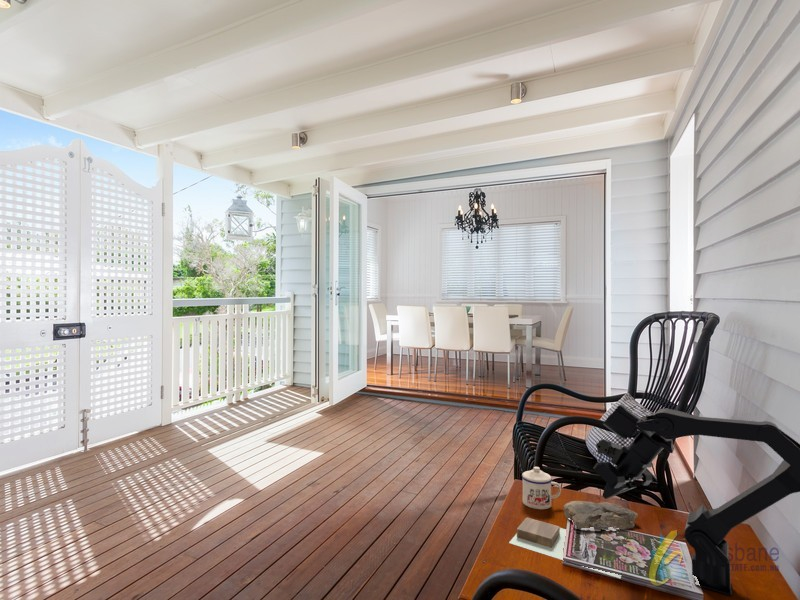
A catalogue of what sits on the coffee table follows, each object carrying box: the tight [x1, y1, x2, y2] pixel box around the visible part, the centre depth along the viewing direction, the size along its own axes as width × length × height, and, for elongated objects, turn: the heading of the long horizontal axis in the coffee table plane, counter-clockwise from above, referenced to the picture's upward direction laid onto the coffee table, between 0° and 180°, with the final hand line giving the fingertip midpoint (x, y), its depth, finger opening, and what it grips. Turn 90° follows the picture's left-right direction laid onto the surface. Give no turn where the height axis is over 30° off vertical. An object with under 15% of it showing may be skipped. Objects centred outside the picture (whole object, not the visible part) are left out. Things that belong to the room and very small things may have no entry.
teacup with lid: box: [521, 466, 562, 510], centre depth 134 cm, size 12×9×12 cm
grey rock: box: [563, 500, 638, 530], centre depth 123 cm, size 14×5×20 cm
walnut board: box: [516, 517, 561, 548], centre depth 114 cm, size 2×8×9 cm
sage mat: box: [508, 527, 622, 579], centre depth 109 cm, size 26×16×1 cm, turn 55°
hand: (604, 497), depth 109 cm, fingers closed
